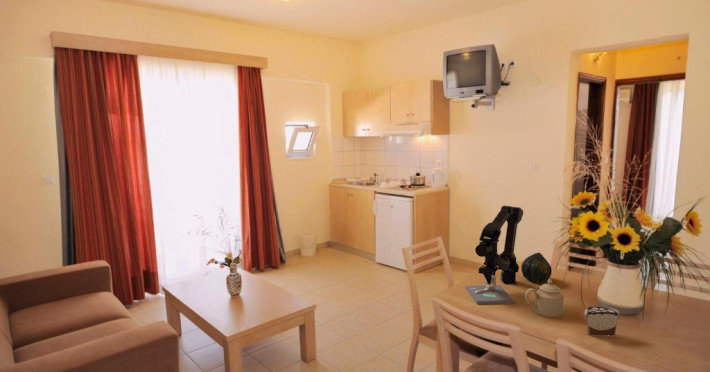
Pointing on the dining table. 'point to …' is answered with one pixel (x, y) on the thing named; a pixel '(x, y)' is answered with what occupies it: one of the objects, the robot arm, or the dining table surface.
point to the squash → (536, 268)
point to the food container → (601, 320)
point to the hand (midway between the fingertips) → (490, 283)
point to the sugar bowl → (547, 300)
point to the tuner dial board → (489, 295)
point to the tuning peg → (489, 285)
